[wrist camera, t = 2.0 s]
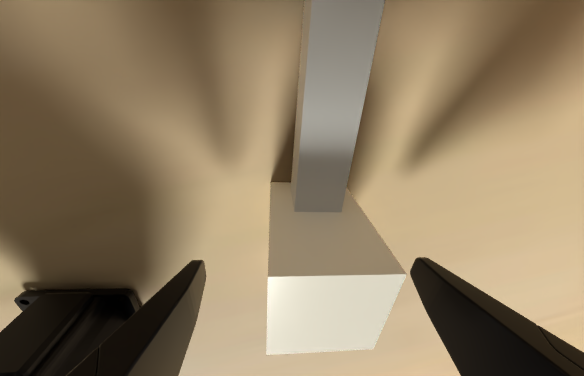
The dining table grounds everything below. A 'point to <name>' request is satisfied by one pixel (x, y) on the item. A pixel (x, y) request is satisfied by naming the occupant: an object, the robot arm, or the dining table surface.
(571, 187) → the dining table surface
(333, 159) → the grey bar
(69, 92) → the dining table surface
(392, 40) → the dining table surface
